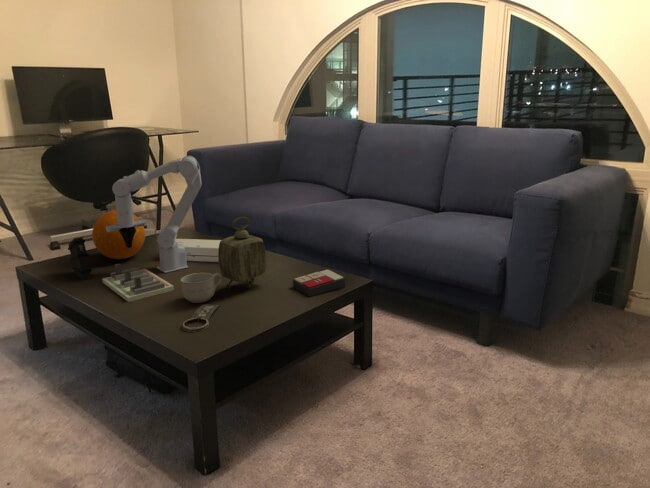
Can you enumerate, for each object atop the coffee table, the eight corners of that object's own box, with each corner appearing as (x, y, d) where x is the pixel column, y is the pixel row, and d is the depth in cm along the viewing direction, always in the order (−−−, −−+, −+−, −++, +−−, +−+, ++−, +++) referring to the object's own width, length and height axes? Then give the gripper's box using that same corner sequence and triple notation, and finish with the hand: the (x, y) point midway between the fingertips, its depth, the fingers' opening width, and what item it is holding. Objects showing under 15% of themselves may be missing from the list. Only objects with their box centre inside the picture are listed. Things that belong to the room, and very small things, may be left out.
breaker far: (121, 275, 198) (119, 263, 197) (122, 277, 197) (121, 264, 195) (115, 277, 197) (113, 264, 195) (117, 278, 196) (115, 265, 194)
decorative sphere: (100, 269, 211) (93, 218, 205) (92, 255, 227) (85, 208, 222) (152, 260, 220) (147, 212, 215) (141, 248, 237) (136, 202, 231)
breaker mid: (130, 282, 191) (129, 269, 190) (132, 283, 190) (130, 270, 189) (125, 283, 190) (123, 270, 189) (126, 285, 189) (125, 271, 188)
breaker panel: (145, 272, 206) (144, 265, 205) (173, 289, 189) (173, 281, 188) (102, 282, 196) (101, 274, 196) (128, 301, 179) (127, 293, 178)
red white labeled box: (291, 277, 189) (327, 267, 197) (292, 289, 191) (328, 278, 198) (308, 287, 181) (345, 276, 188) (309, 299, 182) (346, 287, 190)
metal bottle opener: (224, 307, 175) (224, 301, 174) (204, 334, 156) (203, 327, 156) (201, 306, 176) (200, 301, 175) (178, 333, 158) (177, 326, 157)
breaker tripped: (140, 289, 185) (139, 276, 183) (142, 290, 184) (141, 277, 182) (134, 291, 184) (133, 277, 182) (136, 292, 182) (135, 278, 181)
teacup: (187, 308, 173) (184, 284, 171) (179, 297, 182) (176, 274, 180) (229, 300, 179) (227, 277, 177) (219, 289, 189) (218, 267, 186)
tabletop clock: (253, 278, 199) (250, 211, 192) (269, 284, 192) (266, 215, 185) (220, 289, 189) (215, 218, 182) (235, 295, 183) (231, 223, 176)
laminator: (162, 260, 221) (160, 245, 220) (175, 251, 233) (173, 237, 231) (243, 263, 216) (242, 248, 214) (252, 254, 228) (251, 240, 226)
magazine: (83, 278, 196) (73, 238, 197) (76, 284, 207) (66, 246, 207) (94, 276, 198) (83, 236, 199) (86, 282, 209) (76, 244, 210)
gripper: (108, 216, 195) (113, 253, 198) (148, 210, 203) (151, 245, 207) (102, 213, 200) (106, 248, 204) (141, 207, 208) (145, 241, 212)
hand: (129, 247), depth 206 cm, fingers closed
